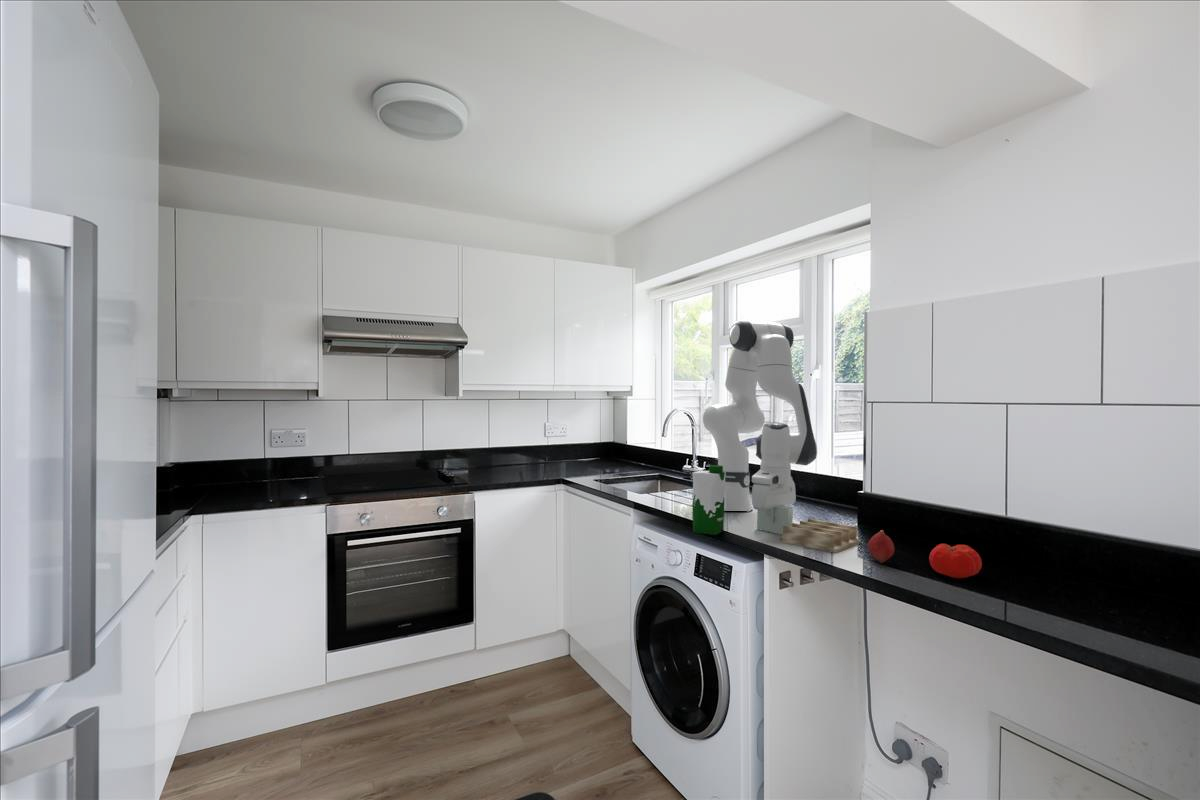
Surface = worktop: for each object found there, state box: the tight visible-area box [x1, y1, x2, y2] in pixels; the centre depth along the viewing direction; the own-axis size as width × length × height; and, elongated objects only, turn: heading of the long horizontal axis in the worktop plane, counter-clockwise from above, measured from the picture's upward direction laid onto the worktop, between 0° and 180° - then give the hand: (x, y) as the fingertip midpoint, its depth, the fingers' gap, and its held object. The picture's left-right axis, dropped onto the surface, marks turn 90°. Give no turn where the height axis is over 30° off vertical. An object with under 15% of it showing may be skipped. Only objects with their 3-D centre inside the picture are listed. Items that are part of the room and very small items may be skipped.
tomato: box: [928, 543, 983, 579], centre depth 125 cm, size 10×11×6 cm
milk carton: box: [692, 464, 726, 536], centre depth 164 cm, size 9×9×20 cm
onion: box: [867, 529, 895, 564], centre depth 134 cm, size 6×6×8 cm
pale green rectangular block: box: [756, 505, 794, 535], centre depth 165 cm, size 10×3×8 cm, turn 43°
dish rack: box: [778, 518, 861, 554], centre depth 153 cm, size 16×16×4 cm
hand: (774, 521), depth 165 cm, fingers closed on pale green rectangular block, 3 cm apart
